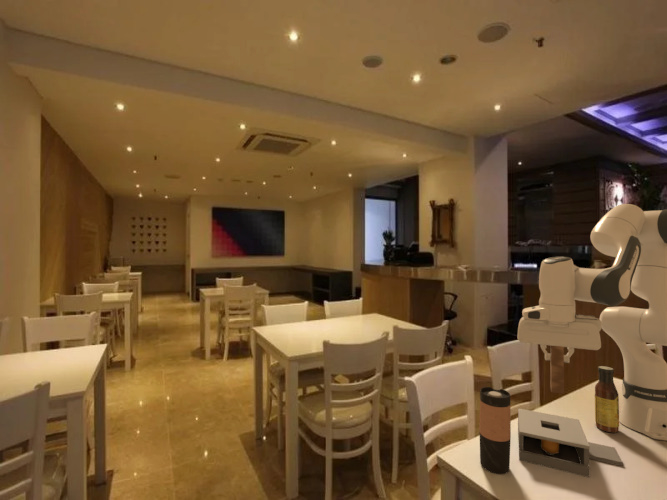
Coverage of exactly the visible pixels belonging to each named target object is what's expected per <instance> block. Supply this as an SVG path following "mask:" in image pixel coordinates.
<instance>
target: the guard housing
mask: <svg viewBox="0 0 667 500" xmlns="http://www.w3.org/2000/svg"><path fill="white" fill-rule="evenodd" d="M517 414H518V415H517V436H518V439H517V440H518V441H517V443H518V461H521V462H525V463H529V464H533V465H537V466H541V467H546V468H549V469H554V470H558V471H562V472H566V473H570V474H573V475H578V476H582V477H586V478H590V473H591V471H590V465H589V464H590V459H589V450H590V446H589V444H588V442H589V441H588V439H587V437H586V433H585V432H584V429H583V426H582V423H581V421H580V419H577V418H572V417H568V416H566V417H565V416H562V415H556V414H551V413H545V412H541V411H540V412H539V411H536V410H530V409H524V408H518V411H517ZM524 437H527V438H531V439H537V440H540V441H541V439H543V440H548V441H552V442H557V443H559V445H564V446H568V447H571V448H572V447H573V448H575V450H576V454H577V457H578V459H579V462H575V461H570V460H568V459H567V460H565V459H562V458H558V457H553V456H554V455H555V453H549V452H546V451H545V453H546V454H547V455H546V454H545V455H544V454H540V453H537V452H531V451H527V450H524Z"/></svg>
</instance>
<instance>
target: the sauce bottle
mask: <svg viewBox="0 0 667 500" xmlns="http://www.w3.org/2000/svg"><path fill="white" fill-rule="evenodd" d="M597 368H598V369H597V372H598V381H597V383H596V384H595V386H594V421H595V426H596V427H597V428H598V429H599V430H601V431H603V432H608V433H618V432H619V430H620V429H619V428H620V422H619V414H620V406H619V404H620V403H619V399H620V398H619V397H620V396H619V392H618V389H617V387H616V385H615V382H614V381H615V380H614V371H615V370H614V368H612V367H609V366H606V365H605V366H604V365H599V366H597Z"/></svg>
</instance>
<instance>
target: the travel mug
mask: <svg viewBox="0 0 667 500" xmlns="http://www.w3.org/2000/svg"><path fill="white" fill-rule="evenodd" d="M511 425H512V424H511V394H510V392H509V391H507V390H505V389H504V388H503V389H502V388H500V389H495V388H492V387H491V386H485V387H482V388H480V390H479V429H478V431H479V457H480V458H479V459H480V462H479V463H480V465H481V466H482V468H483V469H484V470H486V471H487V472H489V471H490V473H492V474H495V473H496V474H497V475H505V474H508V472H509V471H510V462H511V461H510V460H511V436H512V435H511Z"/></svg>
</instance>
